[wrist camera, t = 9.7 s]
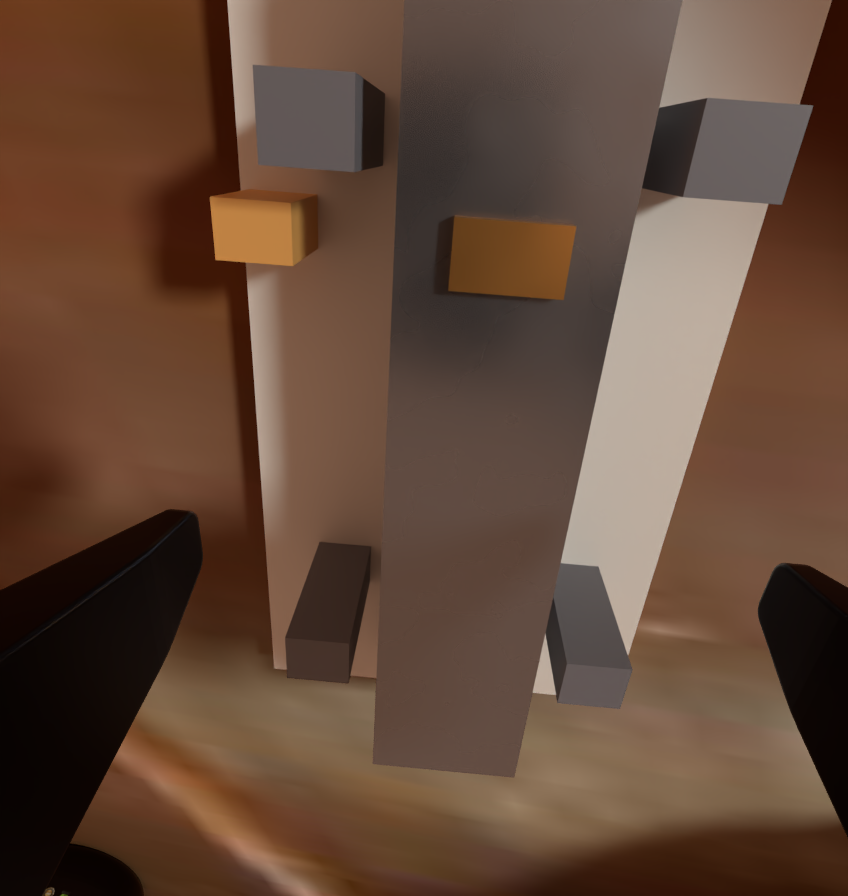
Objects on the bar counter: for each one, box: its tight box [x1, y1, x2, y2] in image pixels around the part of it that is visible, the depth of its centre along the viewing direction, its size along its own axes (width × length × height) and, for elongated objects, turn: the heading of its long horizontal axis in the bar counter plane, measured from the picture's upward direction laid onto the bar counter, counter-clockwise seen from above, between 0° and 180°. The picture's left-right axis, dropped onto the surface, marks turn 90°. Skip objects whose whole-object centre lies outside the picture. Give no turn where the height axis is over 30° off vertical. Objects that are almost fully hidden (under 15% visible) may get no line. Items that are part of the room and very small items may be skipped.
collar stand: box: [210, 0, 832, 709], centre depth 14 cm, size 22×12×5 cm, turn 176°
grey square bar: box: [373, 0, 682, 777], centre depth 14 cm, size 20×4×4 cm, turn 176°
